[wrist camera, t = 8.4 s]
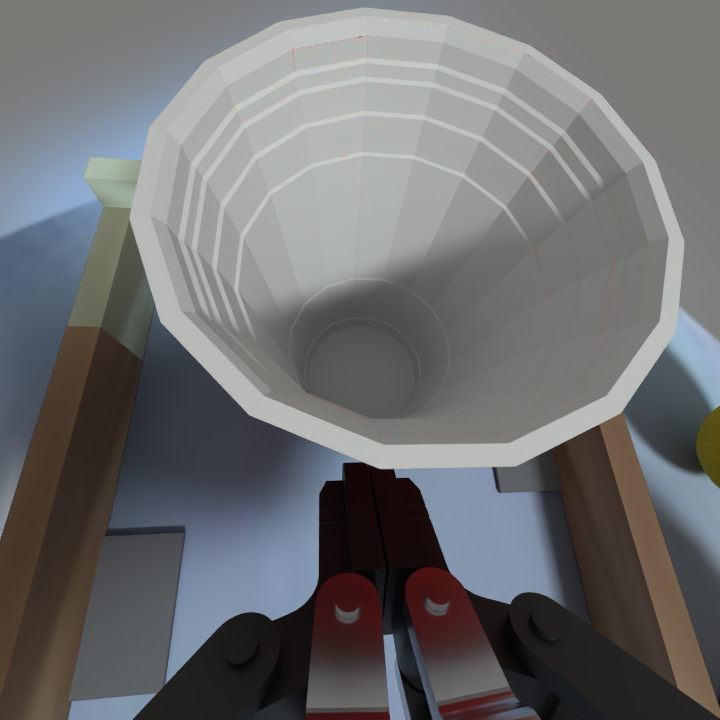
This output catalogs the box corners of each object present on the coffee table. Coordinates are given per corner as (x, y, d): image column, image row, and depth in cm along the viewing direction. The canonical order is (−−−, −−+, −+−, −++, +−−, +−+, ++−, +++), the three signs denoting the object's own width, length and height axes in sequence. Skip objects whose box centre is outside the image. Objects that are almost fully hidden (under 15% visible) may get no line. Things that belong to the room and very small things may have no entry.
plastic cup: (218, 470, 15) (-46, 378, 4) (281, 270, 20) (231, -34, 9) (460, 515, 16) (796, 539, 5) (470, 309, 20) (659, 64, 9)
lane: (-15, 902, 10) (-290, 1228, 6) (145, 239, 19) (90, 157, 15) (664, 799, 13) (861, 968, 8) (521, 254, 22) (575, 187, 17)
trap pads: (75, 736, 12) (71, 739, 12) (57, 555, 14) (53, 555, 13) (587, 476, 17) (590, 475, 17) (524, 370, 19) (526, 369, 19)
